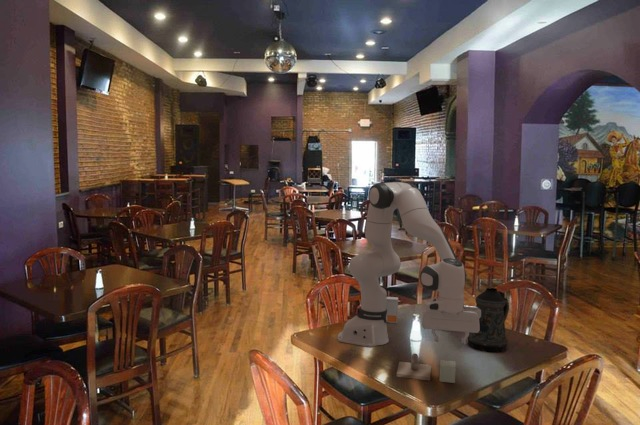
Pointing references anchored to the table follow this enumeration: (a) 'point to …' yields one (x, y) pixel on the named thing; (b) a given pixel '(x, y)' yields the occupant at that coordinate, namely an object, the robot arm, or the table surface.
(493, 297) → the beer stein
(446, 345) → the table surface
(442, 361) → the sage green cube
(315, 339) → the table surface
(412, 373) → the post stand
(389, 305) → the skincare box
